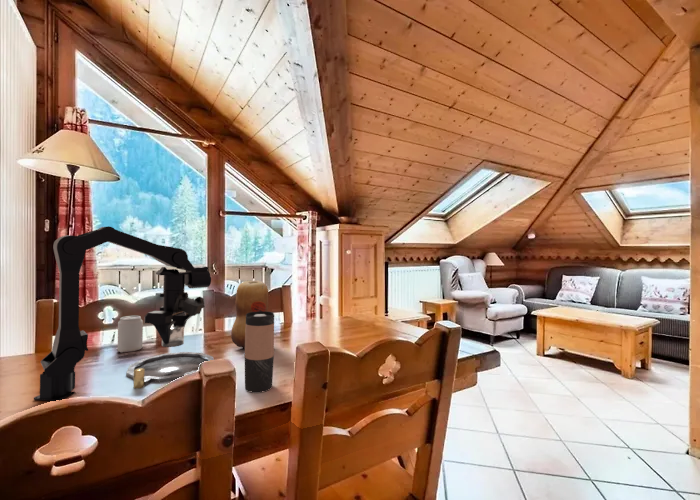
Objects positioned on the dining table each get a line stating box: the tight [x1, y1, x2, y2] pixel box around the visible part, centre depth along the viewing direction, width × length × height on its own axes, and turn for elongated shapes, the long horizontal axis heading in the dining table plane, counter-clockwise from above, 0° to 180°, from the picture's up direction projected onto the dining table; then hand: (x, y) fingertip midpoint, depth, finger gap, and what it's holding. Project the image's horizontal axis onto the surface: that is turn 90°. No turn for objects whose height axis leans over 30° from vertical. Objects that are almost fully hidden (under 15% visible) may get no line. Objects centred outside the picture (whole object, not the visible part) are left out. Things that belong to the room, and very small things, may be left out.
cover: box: [161, 325, 185, 348], centre depth 106 cm, size 6×6×5 cm
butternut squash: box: [230, 279, 269, 349], centre depth 130 cm, size 14×13×25 cm
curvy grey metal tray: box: [125, 351, 215, 390], centre depth 104 cm, size 28×23×5 cm
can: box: [117, 315, 144, 354], centre depth 123 cm, size 8×8×12 cm
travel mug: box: [244, 310, 275, 393], centre depth 95 cm, size 8×8×20 cm
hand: (172, 340), depth 106 cm, fingers closed on cover, 6 cm apart
